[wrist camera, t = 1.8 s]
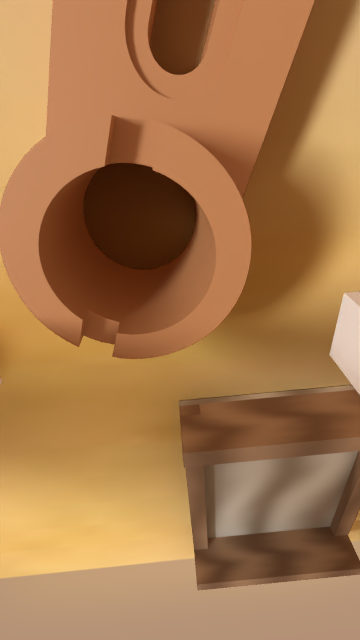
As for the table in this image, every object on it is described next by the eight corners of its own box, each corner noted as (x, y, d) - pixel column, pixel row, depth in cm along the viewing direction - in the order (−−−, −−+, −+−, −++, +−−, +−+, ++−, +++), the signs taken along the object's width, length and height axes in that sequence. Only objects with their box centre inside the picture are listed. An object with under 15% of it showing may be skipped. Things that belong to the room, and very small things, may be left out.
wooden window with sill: (193, 540, 35) (197, 590, 31) (179, 401, 23) (182, 453, 19) (338, 526, 35) (359, 574, 32) (398, 380, 23) (444, 428, 19)
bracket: (192, 299, 19) (206, 373, 13) (54, 268, 17) (0, 336, 11) (349, -161, 10) (610, -571, 4) (100, -309, 9) (-32, -1281, 3)
